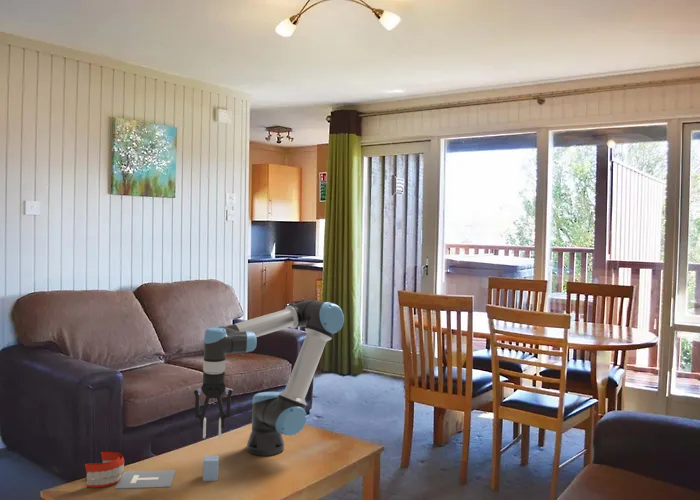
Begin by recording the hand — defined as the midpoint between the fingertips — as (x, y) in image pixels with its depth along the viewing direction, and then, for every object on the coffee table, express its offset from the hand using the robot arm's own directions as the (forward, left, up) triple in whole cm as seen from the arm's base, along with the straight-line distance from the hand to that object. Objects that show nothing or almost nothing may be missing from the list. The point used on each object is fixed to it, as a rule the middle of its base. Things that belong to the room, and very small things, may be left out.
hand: (212, 436), depth 209 cm
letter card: (+22, 0, -15) cm, 26 cm away
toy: (+35, +1, -15) cm, 38 cm away
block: (0, 0, -15) cm, 15 cm away
